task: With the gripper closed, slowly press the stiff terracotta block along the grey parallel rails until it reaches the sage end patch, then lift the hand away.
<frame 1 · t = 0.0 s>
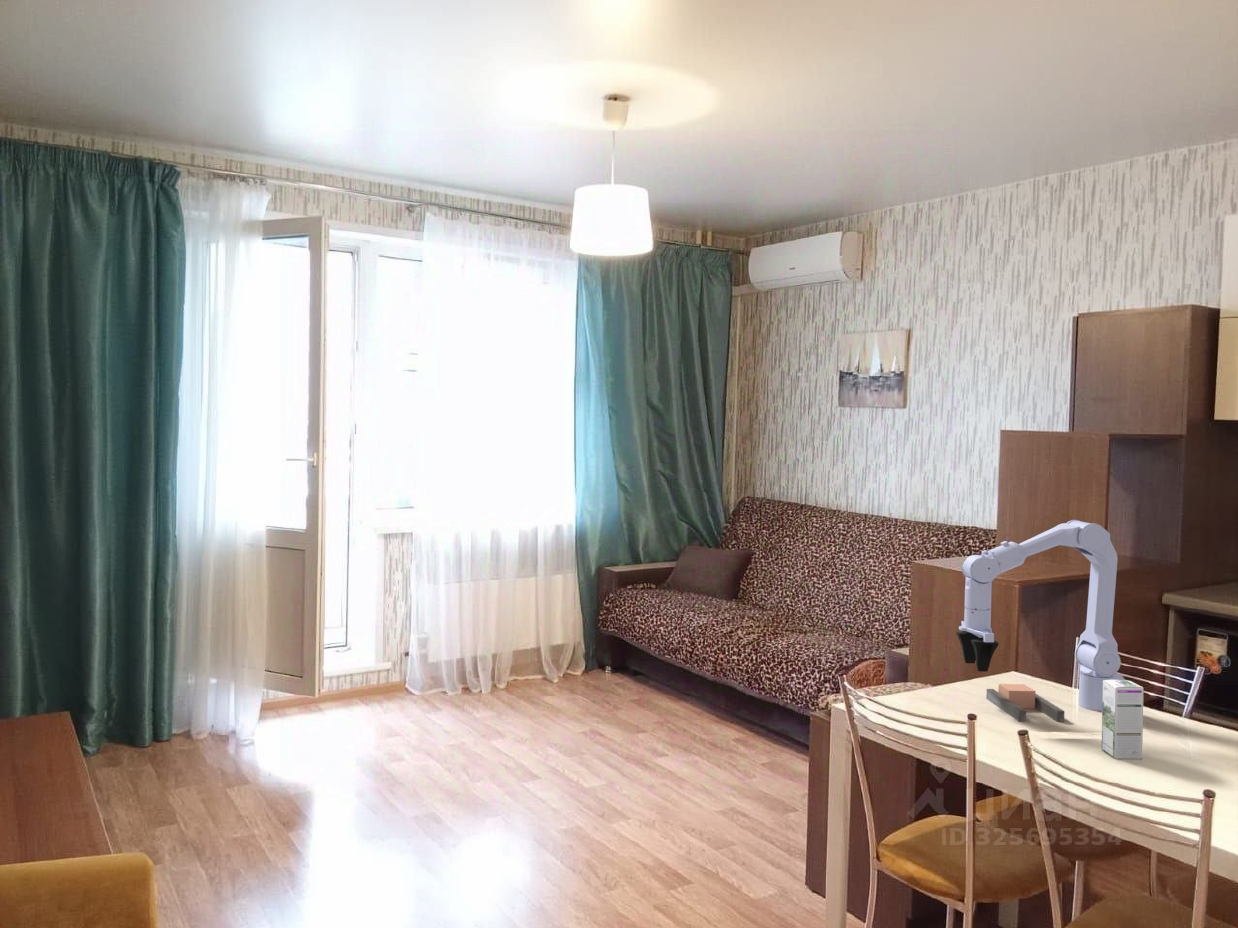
hand: (976, 666, 226), 10 cm above the table, fingers open, 7 cm apart
syrup box: (1121, 755, 197), on the table
terracotta block: (1016, 696, 228), point 3 cm above the table, slide at 0.0 cm
grey parallel rails: (1023, 714, 224), on the table
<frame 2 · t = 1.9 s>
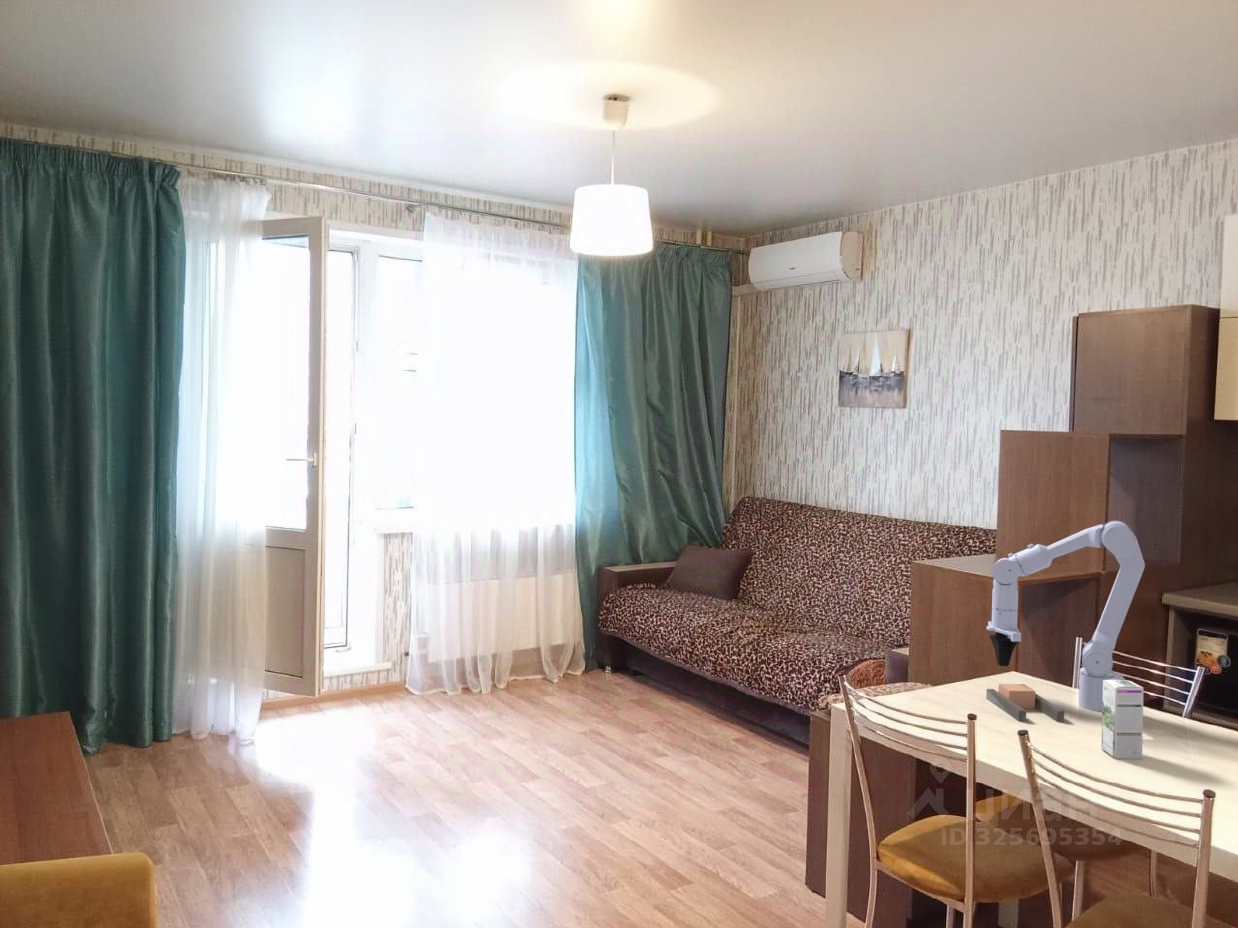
hand: (1003, 665, 236), 8 cm above the table, fingers closed
nothing on the table moved.
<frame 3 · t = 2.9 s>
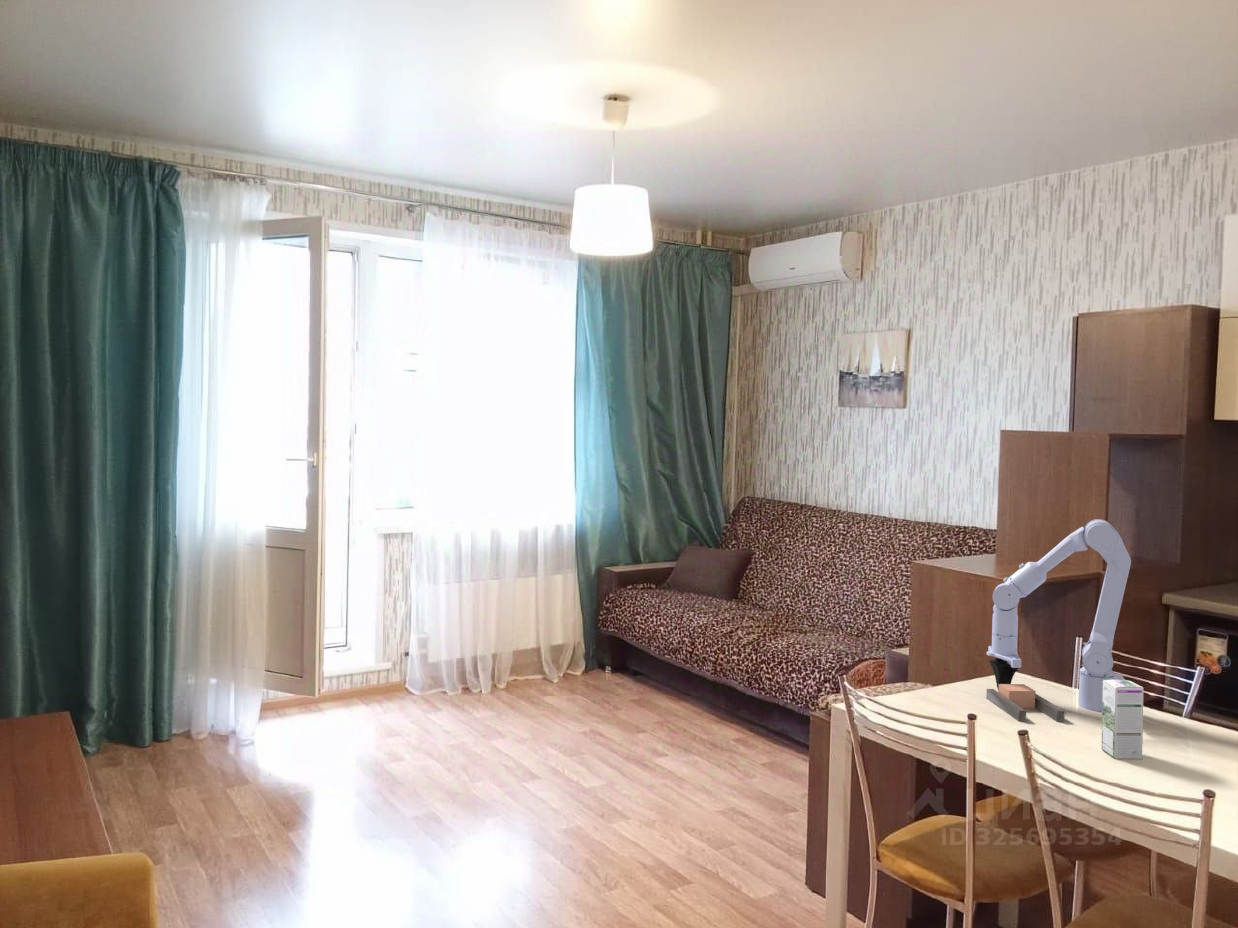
hand: (1003, 690, 235), 2 cm above the table, fingers closed
nothing on the table moved.
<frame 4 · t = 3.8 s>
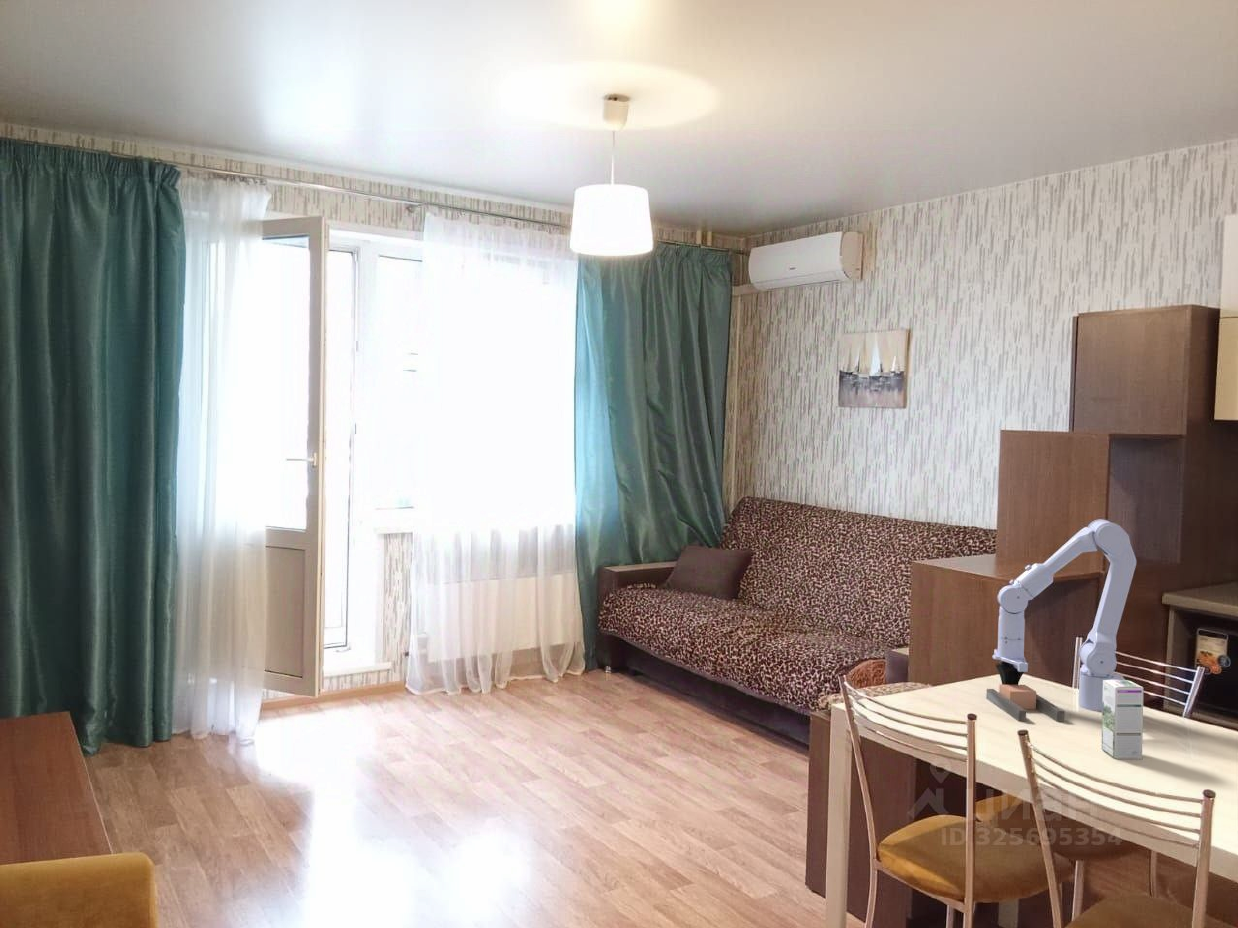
hand: (1009, 694, 232), 2 cm above the table, fingers closed
terracotta block: (1017, 696, 227), point 3 cm above the table, slide at 0.5 cm, touching gripper
everything else where it was.
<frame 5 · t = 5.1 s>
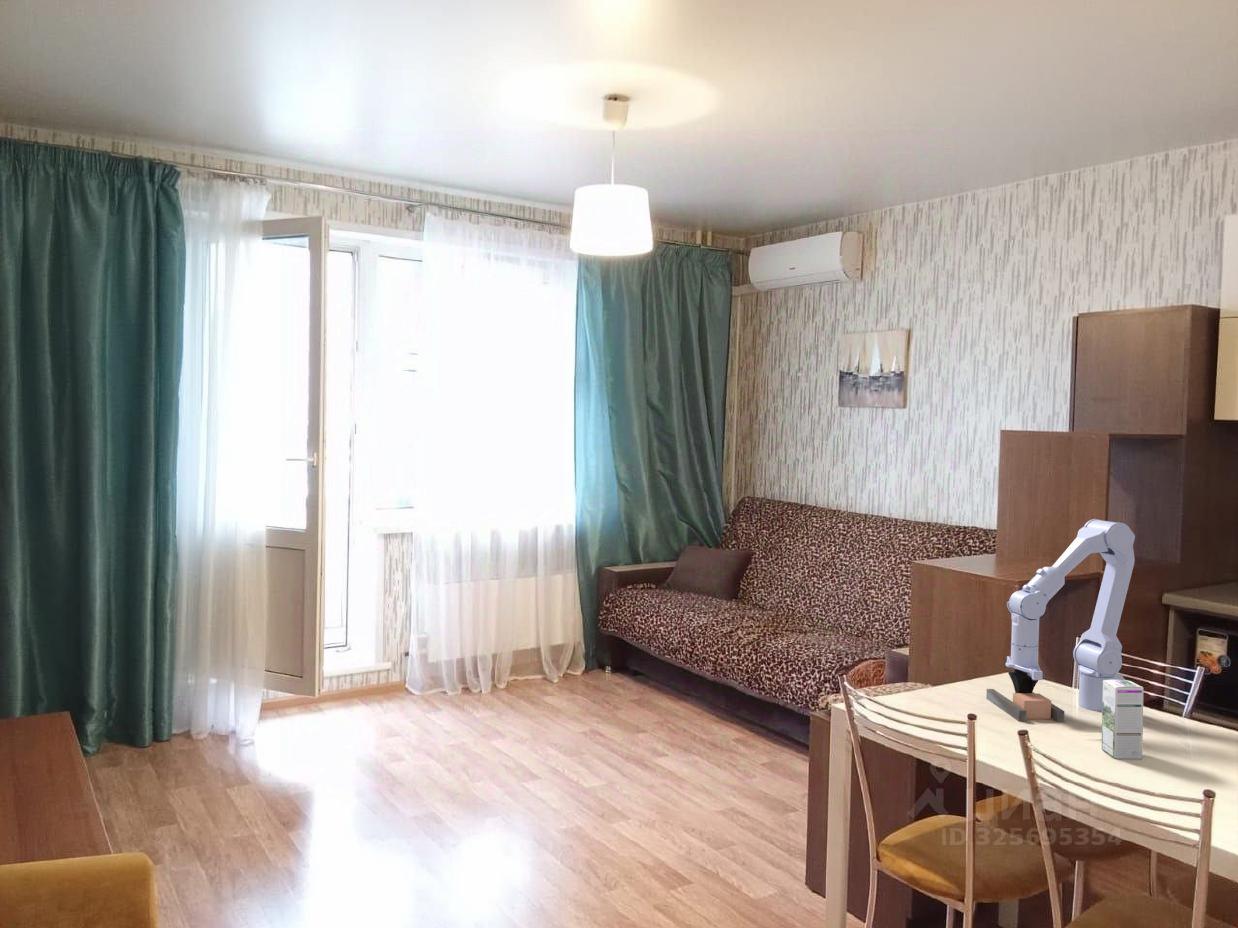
hand: (1023, 703, 224), 2 cm above the table, fingers closed
terracotta block: (1031, 705, 220), point 3 cm above the table, slide at 8.0 cm, touching gripper
everything else where it was.
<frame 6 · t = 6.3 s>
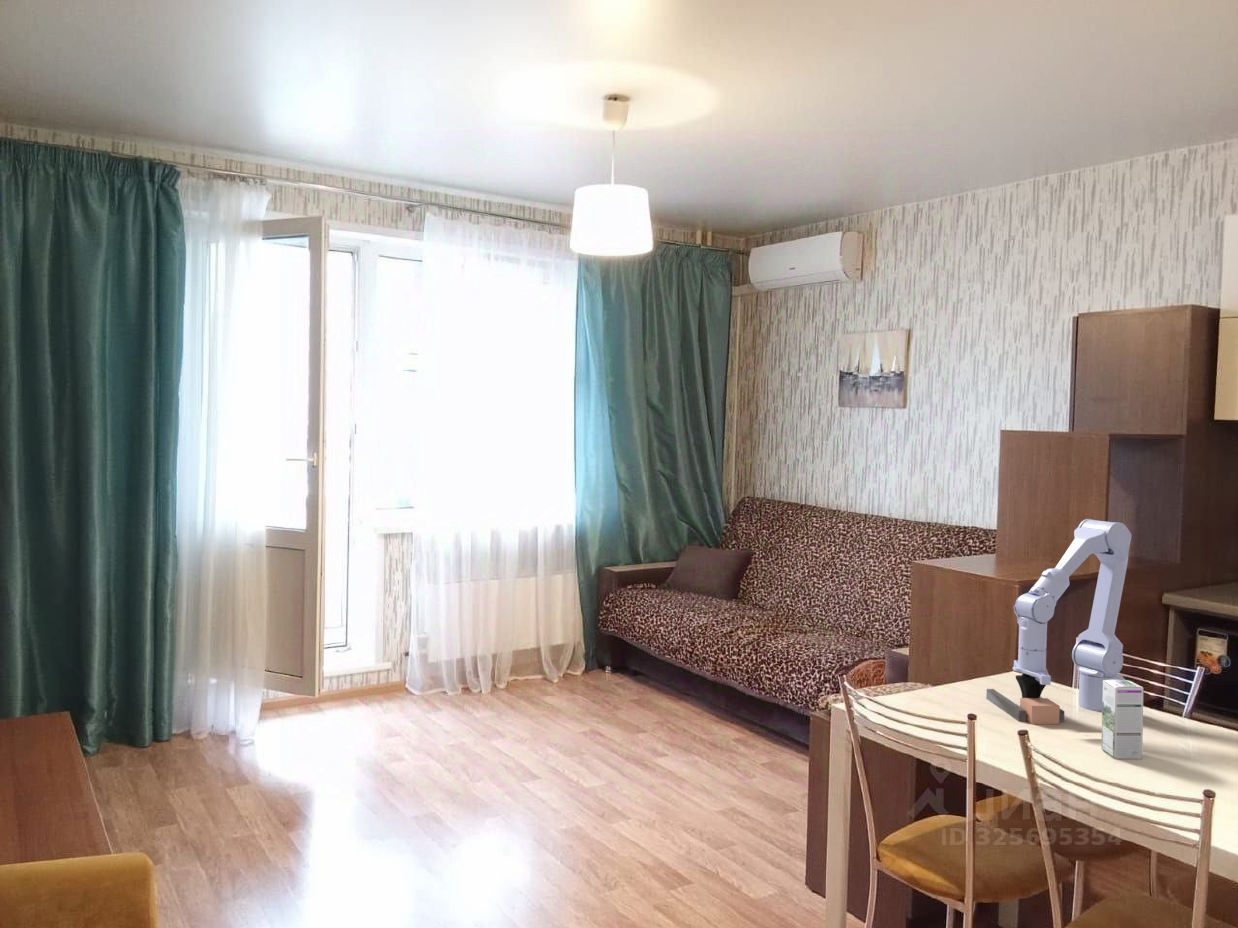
hand: (1030, 708, 220), 2 cm above the table, fingers closed
terracotta block: (1039, 710, 216), point 3 cm above the table, slide at 11.9 cm, touching gripper
everything else where it was.
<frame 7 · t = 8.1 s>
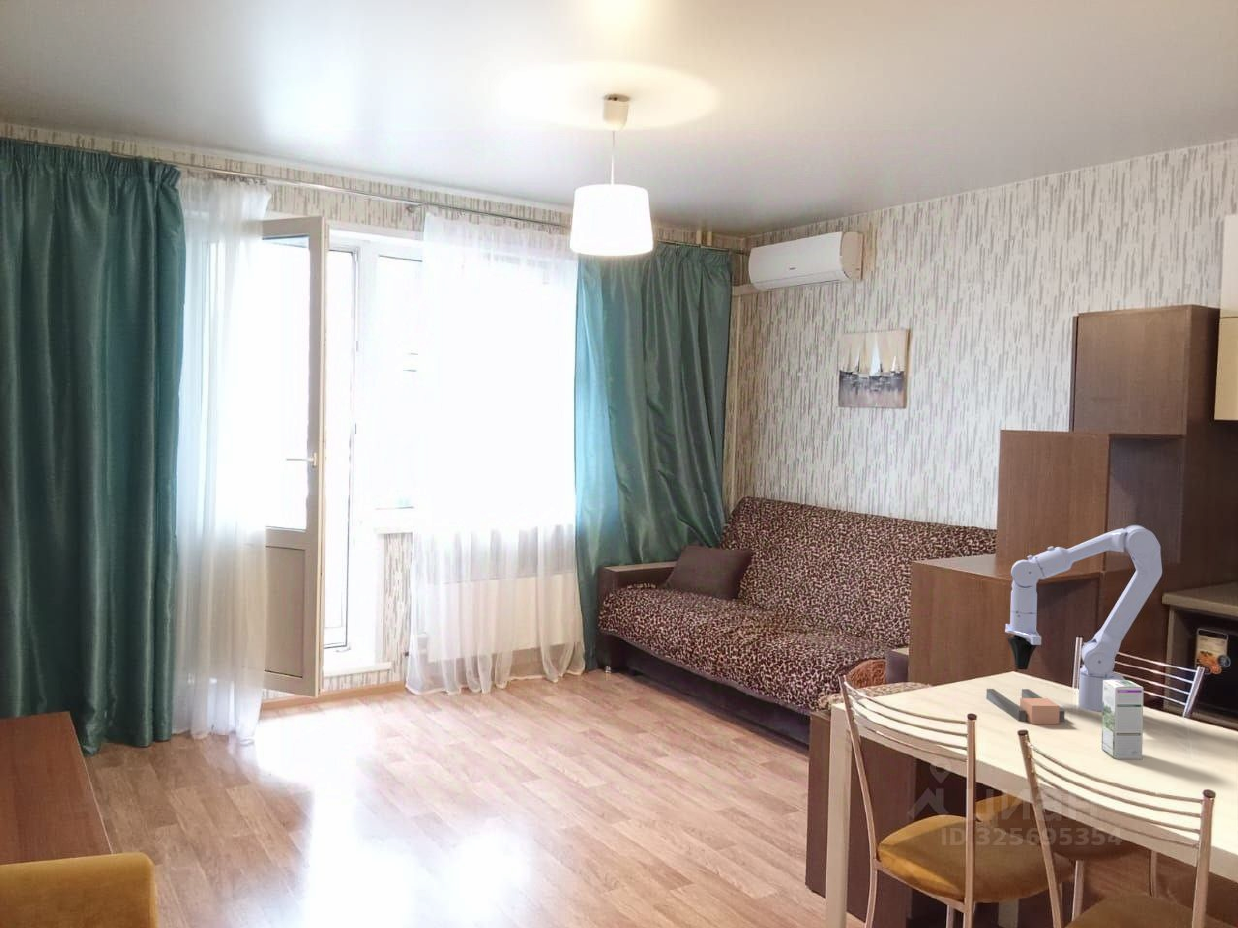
hand: (1021, 668, 232), 8 cm above the table, fingers closed
terracotta block: (1039, 710, 216), point 3 cm above the table, slide at 11.9 cm
everything else where it was.
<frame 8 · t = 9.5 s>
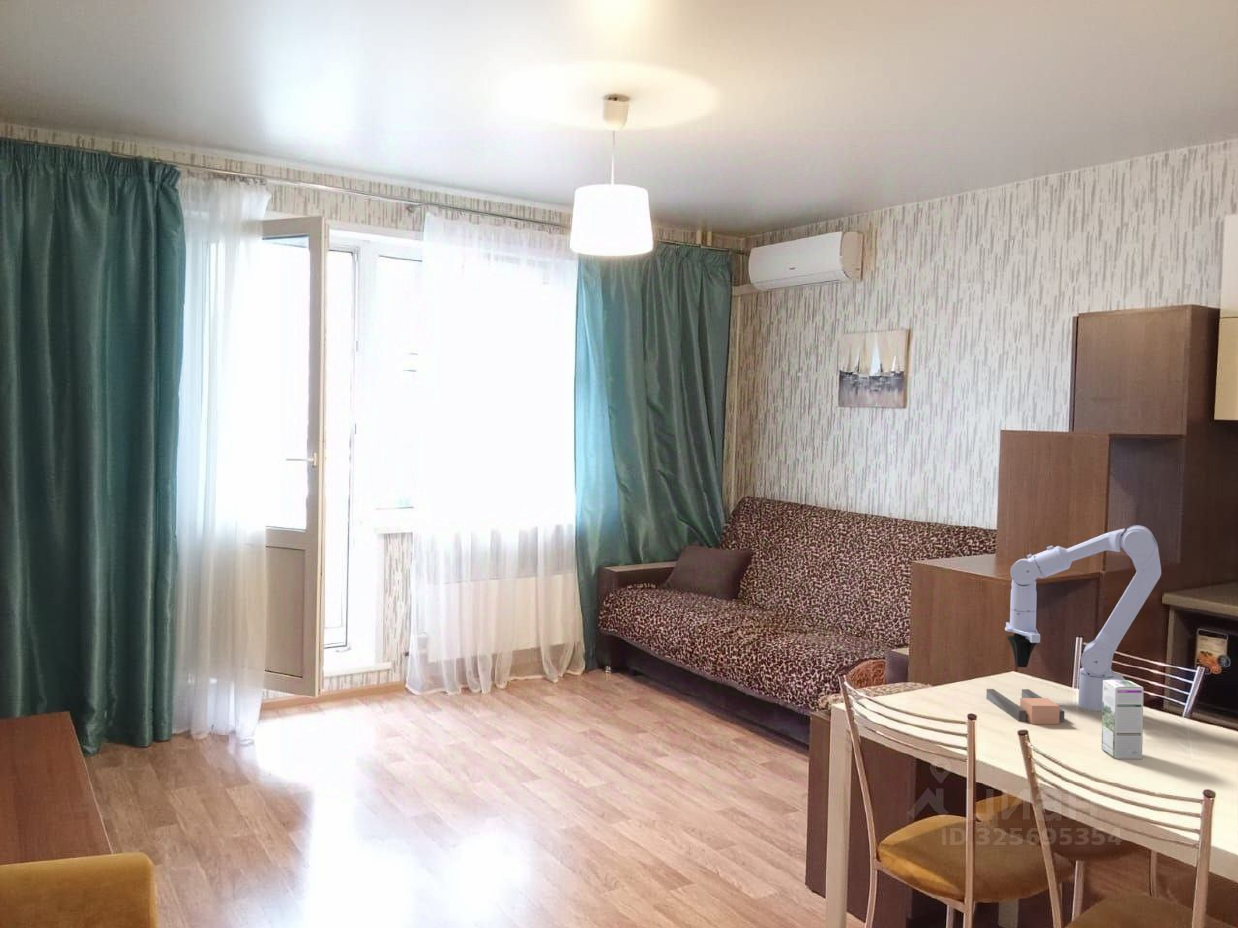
hand: (1021, 666, 235), 8 cm above the table, fingers closed
nothing on the table moved.
at the end: terracotta block slide at 11.9 cm; syrup box moved 0.2 cm from its start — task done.
